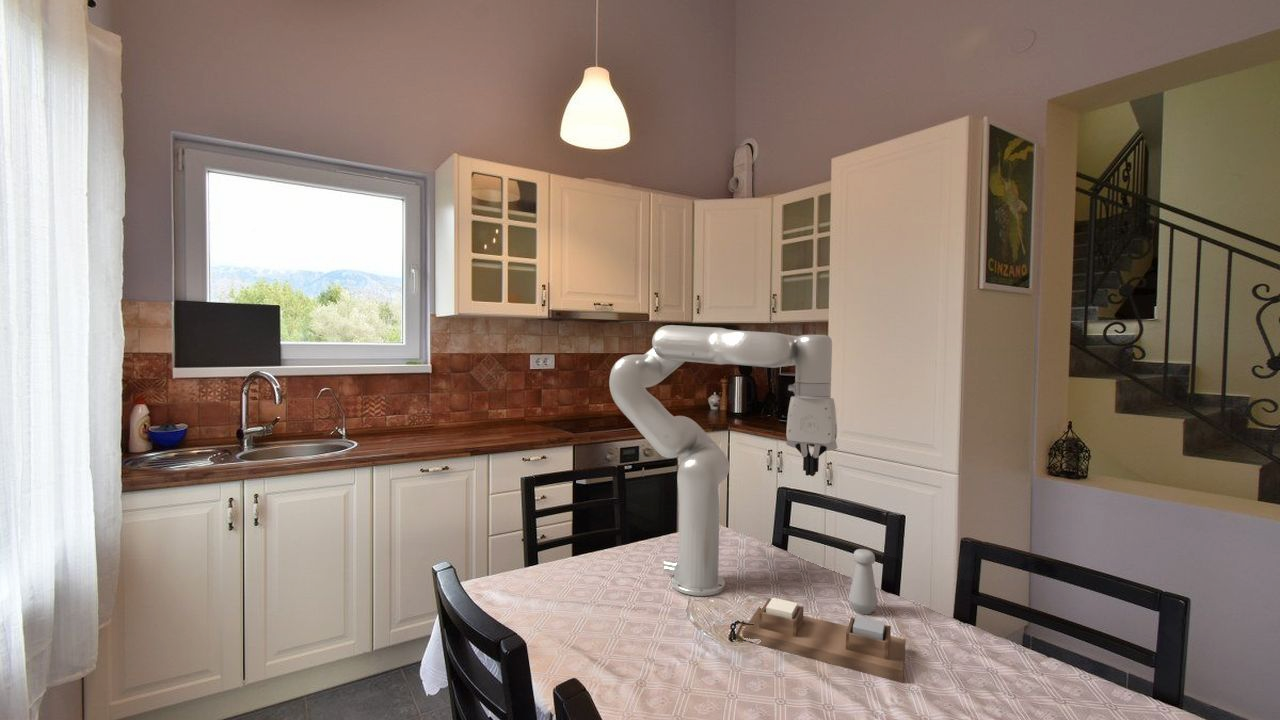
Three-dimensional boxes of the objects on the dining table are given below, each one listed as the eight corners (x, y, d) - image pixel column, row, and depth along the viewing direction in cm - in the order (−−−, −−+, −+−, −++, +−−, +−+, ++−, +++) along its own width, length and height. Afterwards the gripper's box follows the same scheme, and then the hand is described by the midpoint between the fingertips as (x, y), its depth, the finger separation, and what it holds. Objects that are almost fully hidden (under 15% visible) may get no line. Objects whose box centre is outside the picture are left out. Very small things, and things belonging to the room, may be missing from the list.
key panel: (742, 640, 109) (743, 614, 109) (759, 615, 120) (760, 591, 120) (902, 682, 96) (902, 653, 96) (905, 649, 107) (906, 623, 107)
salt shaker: (879, 618, 120) (881, 557, 119) (851, 614, 121) (852, 554, 121) (873, 605, 125) (875, 547, 125) (846, 603, 127) (848, 545, 126)
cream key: (765, 619, 111) (766, 607, 111) (772, 609, 115) (772, 597, 115) (791, 625, 108) (791, 613, 108) (797, 615, 113) (797, 603, 113)
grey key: (852, 639, 103) (852, 626, 103) (855, 628, 108) (856, 615, 108) (882, 646, 101) (882, 633, 101) (884, 634, 105) (884, 621, 105)
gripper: (774, 390, 124) (772, 473, 124) (846, 394, 117) (844, 482, 117) (782, 388, 131) (780, 467, 131) (851, 391, 124) (848, 475, 124)
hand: (810, 474), depth 124 cm, fingers closed
